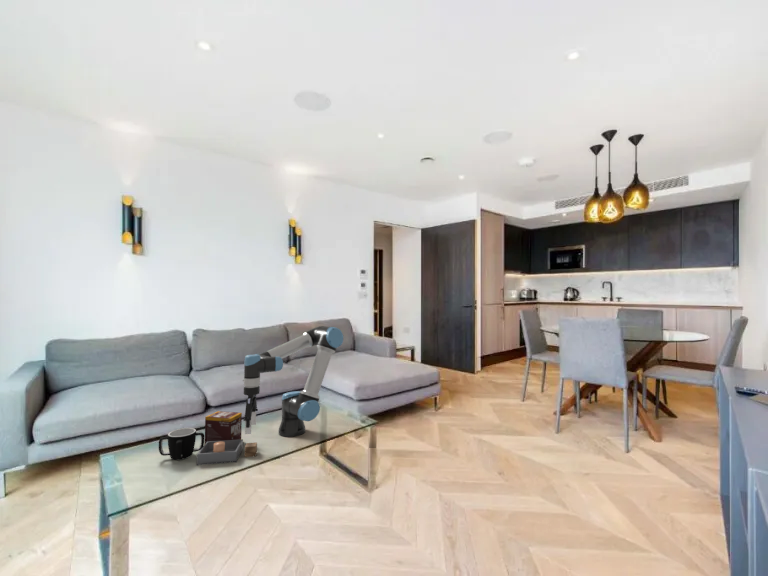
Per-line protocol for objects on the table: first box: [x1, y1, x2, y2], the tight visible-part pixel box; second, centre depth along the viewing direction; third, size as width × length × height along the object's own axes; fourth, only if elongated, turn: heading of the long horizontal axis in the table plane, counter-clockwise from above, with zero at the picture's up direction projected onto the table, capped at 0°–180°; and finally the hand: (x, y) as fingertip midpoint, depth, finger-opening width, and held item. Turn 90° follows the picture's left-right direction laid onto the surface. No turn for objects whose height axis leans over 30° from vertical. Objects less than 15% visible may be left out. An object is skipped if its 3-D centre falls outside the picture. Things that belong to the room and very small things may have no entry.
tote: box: [196, 438, 244, 466], centre depth 177 cm, size 17×15×5 cm
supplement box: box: [203, 410, 243, 446], centre depth 194 cm, size 10×15×16 cm
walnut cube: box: [244, 442, 258, 458], centre depth 180 cm, size 5×5×5 cm
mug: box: [158, 427, 205, 461], centre depth 177 cm, size 16×16×12 cm
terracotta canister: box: [213, 441, 225, 453], centre depth 174 cm, size 5×5×7 cm
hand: (250, 429), depth 180 cm, fingers open, 13 cm apart
